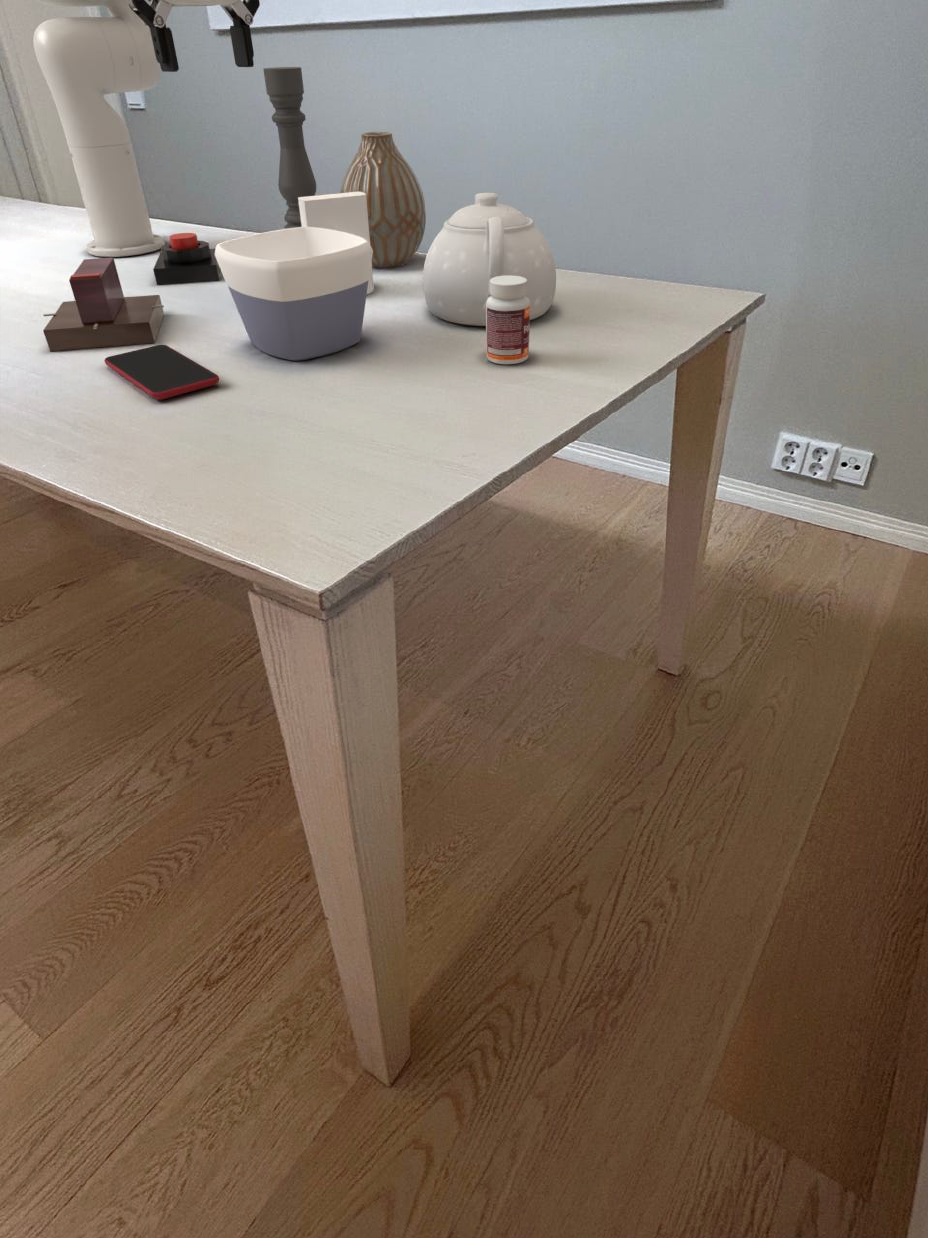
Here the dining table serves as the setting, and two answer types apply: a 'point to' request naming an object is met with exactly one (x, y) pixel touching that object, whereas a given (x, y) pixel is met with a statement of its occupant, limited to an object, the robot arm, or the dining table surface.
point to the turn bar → (97, 290)
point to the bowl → (298, 289)
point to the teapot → (486, 261)
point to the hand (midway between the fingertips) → (208, 68)
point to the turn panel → (106, 325)
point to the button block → (186, 265)
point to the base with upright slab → (338, 216)
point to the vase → (388, 199)
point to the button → (183, 240)
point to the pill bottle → (507, 320)
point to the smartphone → (162, 371)
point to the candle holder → (290, 138)
